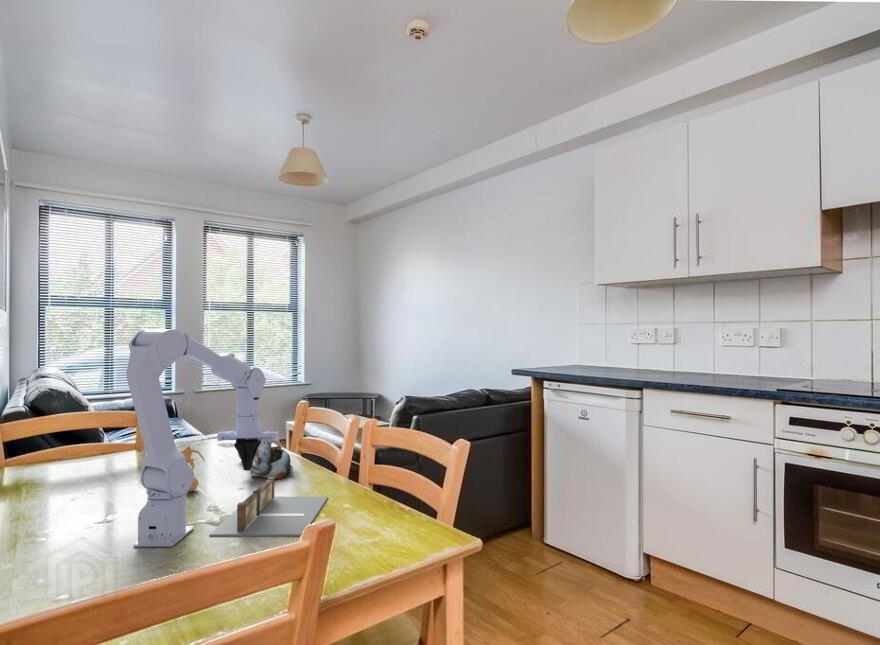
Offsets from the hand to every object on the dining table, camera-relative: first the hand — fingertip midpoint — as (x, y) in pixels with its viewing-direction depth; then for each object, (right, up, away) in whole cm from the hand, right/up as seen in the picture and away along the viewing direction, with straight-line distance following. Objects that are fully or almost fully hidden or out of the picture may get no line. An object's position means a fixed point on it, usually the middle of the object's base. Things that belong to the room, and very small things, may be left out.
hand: (247, 469), depth 126 cm
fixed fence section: (+5, -8, -12) cm, 16 cm away
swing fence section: (+5, -8, -2) cm, 10 cm away
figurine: (-20, -9, +11) cm, 25 cm away
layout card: (+9, -9, -7) cm, 14 cm away
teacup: (-12, -10, +41) cm, 44 cm away
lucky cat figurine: (-3, -10, +25) cm, 26 cm away
